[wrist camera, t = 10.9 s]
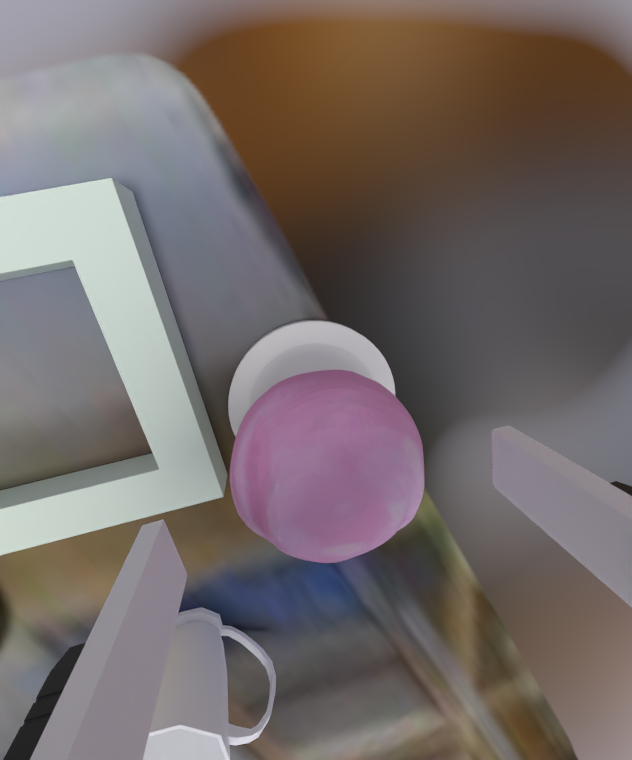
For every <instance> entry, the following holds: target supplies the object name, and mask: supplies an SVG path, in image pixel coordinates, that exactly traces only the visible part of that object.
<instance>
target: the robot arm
mask: <svg viewBox="0 0 632 760" xmlns="http://www.w3.org/2000/svg"><path fill="white" fill-rule="evenodd" d="M492 465H493V466H492V467H493V487H495V488H496V489H497V490H498V491H499V492H500V493H501V494H503V495H504V496H505V497H506V498H507V499H508V500H509V501H511V502H512V503H513V504H514V505H515V506H516V507H518V508H519V509H520V510H521V511H522V512H523V513H524V514H525V515H527V516H528V517H529V518H530V519H531V520H532V521H533V522H535V523H536V524H537V525H538V526H539V527H540V528H542V529H543V530H544V531H545V532H546V533H547V534H548V535H550V536H551V537H552V538H553V539H554V540H555V541H556V542H557V543H559V544H560V545H561V546H562V547H563V548H564V549H566V550H567V551H568V552H569V553H570V554H571V555H573V557H575V558H576V559H577V560H578V561H579V562H580V563H581V564H583V565H584V566H585V567H586V568H587V569H588V570H589V571H591V572H592V573H593V574H594V575H595V576H596V577H597V578H599V579H600V580H601V581H602V582H603V583H604V584H605V585H607V586H608V587H609V588H610V589H611V590H612V591H614V592H615V593H616V594H617V595H618V596H619V597H620V598H622V599H623V600H624V601H625V602H626V603H627V604H628V605H630V606H631V607H632V487H631V486H628V485H626V484H623V483H620V482H617V481H616V482H612V483H608V482H606V481H605V480H603V479H601V478H599V477H598V476H596V475H594V474H592V473H591V472H589V471H587V470H586V469H584V468H582V467H580V466H579V465H577V464H575V463H573V462H572V461H570V460H568V459H566V458H564V457H563V456H561V455H559V454H558V453H556V452H554V451H553V450H551V449H549V448H547V447H546V446H544V445H542V444H540V443H538V442H537V441H535V440H533V439H532V438H530V437H528V436H526V435H525V434H523V433H521V432H519V431H518V430H516V429H514V428H513V427H511V426H509V425H508V426H504V427H501V428H498V429H494V430H492ZM187 576H188V575H187V572H186V570H185V568H184V565H183V563H182V561H181V558H180V556H179V554H178V552H177V549H176V547H175V545H174V542H173V540H172V538H171V535H170V533H169V531H168V528H167V526H166V524H165V521H164V519H163V520H160V521H156V522H152V523H149V524H145V525H142V527H141V529H140V531H139V533H138V535H137V537H136V539H135V542H134V544H133V546H132V548H131V550H130V552H129V554H128V556H127V558H126V560H125V562H124V564H123V567H122V569H121V571H120V573H119V575H118V577H117V579H116V581H115V583H114V585H113V587H112V589H111V592H110V594H109V596H108V598H107V600H106V602H105V604H104V606H103V608H102V610H101V612H100V614H99V617H98V619H97V621H96V623H95V625H94V627H93V629H92V631H91V633H90V635H89V637H88V639H87V642H86V643H83V644H80V645H77V646H74V647H70V648H69V650H68V651H67V652H66V653H65V654H64V656H63V657H62V658H61V659H60V661H59V662H58V663H57V664H56V666H55V667H54V668H53V669H52V670H51V672H50V673H49V675H48V677H47V679H46V681H45V683H44V685H43V687H42V688H41V690H40V692H39V694H38V696H37V698H36V699H37V700H36V703H33V705H32V707H31V709H30V711H29V713H28V715H27V716H26V718H25V720H24V725H23V726H22V727H21V728H20V730H19V731H18V733H17V735H16V737H15V739H14V741H13V743H12V745H11V746H10V748H9V750H8V752H7V754H6V756H5V758H4V759H3V760H143V756H144V752H145V748H146V744H147V740H148V736H149V732H150V728H151V723H152V719H153V715H154V711H155V707H156V703H157V699H158V695H159V691H160V686H161V682H162V678H163V674H164V670H165V666H166V662H167V658H168V654H169V650H170V645H171V641H172V637H173V633H174V629H175V625H176V621H177V617H178V613H179V609H180V604H181V600H182V596H183V592H184V588H185V584H186V580H187Z"/></svg>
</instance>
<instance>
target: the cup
mask: <svg viewBox="0 0 632 760" xmlns="http://www.w3.org/2000/svg"><path fill="white" fill-rule="evenodd" d="M221 636H229V637H231V638H233V639H235V640H236V641H238V642H240V643H241V644H242V645H244V646H245V647H246V648H247V649H248V650H250V651H251V652H252V653H253V654H254V655H255V656H256V657H257V658H258V659H259V660H260V661H261V663H262V664H263V665H264V667H265V668H266V670H267V673H268V677H269V681H270V693H269V702H268V707H267V711H266V713H265V715H264V716H263V718H262V719H261V721H260V722H259V724H258V725H257V726H255V727H253V728H252V729H248V728H243V727H238V726H235V725H232V724H229V719H228V689H227V669H226V661H225V654H224V646H223V641H222V638H221ZM275 688H276V674H275V671H274V667H273V663H272V660H271V659H270V658H269V656H268V655H267V653H266V652H265V651H264V649H263V648H261V647H260V646H259V645H258V644H257V643H256V642H255V641H253V640H252V639H251V638H250V637H249V636H247V635H246V634H245V633H243V632H242V631H240V630H238V629H236V628H234V627H232V626H226V625H223V624H222V621H221V617H220V614H218V613H215V612H213V611H210V610H208V609H205V608H202V607H200V608H196V609H191V610H187V611H183V612H180V613H179V614H178V617H177V621H176V625H175V629H174V633H173V637H172V641H171V645H170V650H169V654H168V658H167V662H166V666H165V670H164V674H163V678H162V682H161V686H160V691H159V695H158V699H157V703H156V707H155V711H154V715H153V719H152V723H151V728H150V732H149V736H148V740H147V744H146V748H145V752H144V756H143V760H230V745H240V744H246V743H250V742H251V741H253V740H255V739H256V738H258V737H259V735H260V734H261V732H262V731H263V729H264V727H265V726H266V724H267V723H268V721H269V718H270V715H271V712H272V707H273V702H274V697H275Z"/></svg>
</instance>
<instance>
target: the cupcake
mask: <svg viewBox="0 0 632 760" xmlns="http://www.w3.org/2000/svg"><path fill="white" fill-rule="evenodd" d="M230 486H231V491H232V498H233V501H234V505H235V508H236V510H237V512H238V514H239V516H240V518H241V519H242V520H243V521H244V523H245V524H246V525H247V526H248V527H249V528H250V529H251V530H252V531H253V532H255V533H256V534H258V535H259V536H261V537H263V538H265V539H267V540H269V541H270V542H271V543H272V544H274V545H275V546H276V547H277V548H278V549H279V550H281V551H282V552H283V553H285V554H288V555H290V556H292V557H295V558H298V559H302V560H307V561H313V562H319V563H336V562H340V561H344V560H347V559H350V558H353V557H355V556H358V555H361V554H363V553H366V552H368V551H370V550H372V549H374V548H376V547H378V546H380V545H381V544H383V543H385V542H386V541H388V540H389V539H390V538H391V537H392V536H393V535H394V534H395V533H396V532H397V531H398V530H399V529H401V528H403V527H404V526H406V525H407V524H408V523H409V522H410V521H411V520H412V519H413V518H414V516H415V514H416V512H417V510H418V508H419V505H420V502H421V499H422V496H423V492H424V460H423V448H422V442H421V438H420V435H419V432H418V430H417V427H416V425H415V423H414V421H413V419H412V418H411V416H410V414H409V413H408V412H407V410H406V409H405V407H404V406H403V405H402V404H401V403H400V402H399V400H398V399H397V398H396V397H395V396H394V394H393V393H391V392H390V391H389V390H388V389H387V388H385V387H384V386H383V385H381V384H380V383H378V382H376V381H374V380H372V379H369V378H367V377H364V376H362V375H360V374H357V373H355V372H353V371H346V370H323V371H314V372H308V373H303V374H299V375H295V376H292V377H289V378H287V379H284V380H282V381H280V382H278V383H277V384H275V385H274V386H272V387H271V388H270V389H268V390H267V391H266V392H265V393H264V394H263V395H262V396H261V397H260V398H258V399H257V400H256V401H255V402H254V404H253V405H252V406H251V407H250V409H249V410H248V411H247V413H246V414H245V416H244V418H243V420H242V422H241V424H240V427H239V429H238V432H237V435H236V439H235V443H234V447H233V452H232V457H231V464H230Z"/></svg>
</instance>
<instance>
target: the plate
mask: <svg viewBox="0 0 632 760" xmlns="http://www.w3.org/2000/svg"><path fill="white" fill-rule="evenodd" d="M323 370H346V371H353V372H355V373H357V374H360V375H362V376H364V377H367V378H369V379H372V380H374V381H376V382H378V383H380V384H381V385H383V386H384V387H385V388H387V389H388V390H389V391H390V392H391V393H393V394H394V396H395V386H394V381H393V376H392V373H391V370H390V368H389V366H388V364H387V362H386V361H385V358H384V357H383V355H382V354H381V353H380V351H379V350H378V349H377V348H376V347H375V346H374V345H373V343H371V342H370V341H369V340H368V339H366V338H365V337H364V336H362V335H361V334H359V333H357V332H355V331H354V330H352V329H350V328H348V327H346V326H344V325H341V324H338V323H335V322H331V321H325V320H302V321H296V322H292V323H289V324H285V325H283V326H280V327H278V328H276V329H274V330H272V331H270V332H269V333H267V334H266V335H264V336H263V337H262V338H260V339H259V340H258V341H257V342H255V343H254V344H253V346H252V347H251V348H250V349H249V350H248V351H247V352H246V354H245V355H244V356H243V358H242V359H241V361H240V363H239V365H238V367H237V369H236V371H235V374H234V377H233V380H232V383H231V387H230V392H229V400H228V411H229V419H230V423H231V427H232V430H233V432H234V435H235V437H236V435H237V432H238V429H239V427H240V424H241V422H242V420H243V418H244V416H245V414H246V413H247V411H248V410H249V409H250V407H251V406H252V405H253V404H254V402H255V401H256V400H257V399H258V398H260V397H261V396H262V395H263V394H264V393H265V392H266V391H267V390H268V389H270V388H271V387H272V386H274V385H275V384H277V383H278V382H280V381H282V380H284V379H287V378H289V377H292V376H295V375H299V374H303V373H308V372H314V371H323Z"/></svg>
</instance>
